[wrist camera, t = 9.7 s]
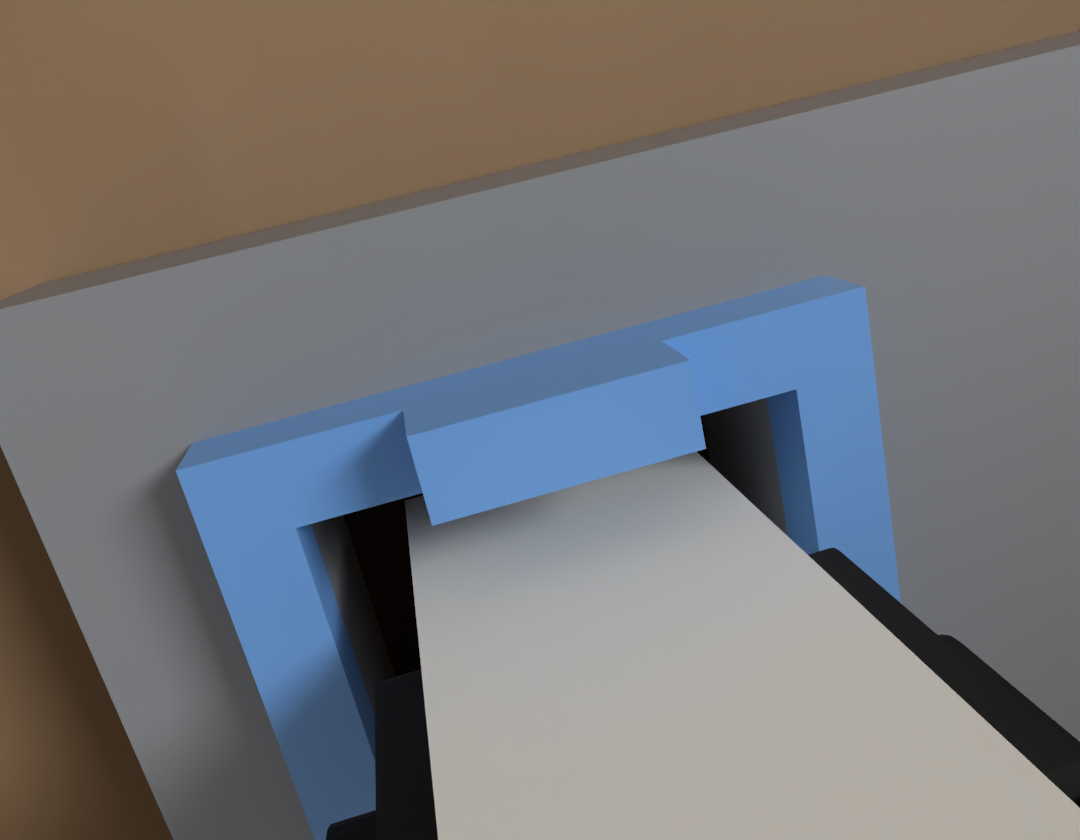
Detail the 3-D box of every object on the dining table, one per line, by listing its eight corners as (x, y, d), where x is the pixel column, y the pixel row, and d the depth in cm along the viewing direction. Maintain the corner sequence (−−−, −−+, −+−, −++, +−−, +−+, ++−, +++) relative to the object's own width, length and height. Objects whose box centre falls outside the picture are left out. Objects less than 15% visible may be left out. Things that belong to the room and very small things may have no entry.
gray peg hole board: (1510, -75, 15) (2022, -175, 11) (1447, 561, 19) (1803, 698, 14) (39, 284, 13) (-152, 363, 8) (298, 931, 17) (270, 1243, 12)
